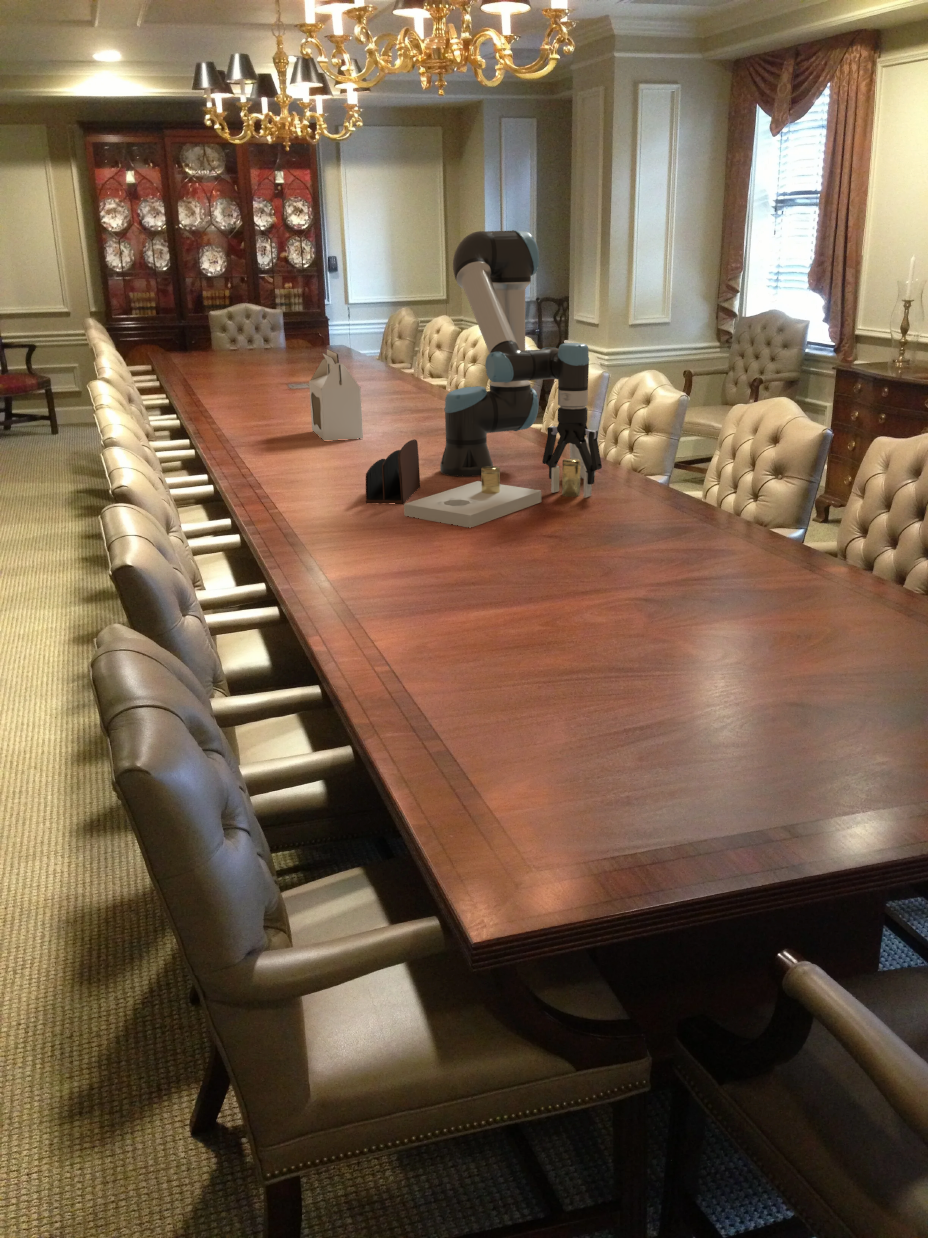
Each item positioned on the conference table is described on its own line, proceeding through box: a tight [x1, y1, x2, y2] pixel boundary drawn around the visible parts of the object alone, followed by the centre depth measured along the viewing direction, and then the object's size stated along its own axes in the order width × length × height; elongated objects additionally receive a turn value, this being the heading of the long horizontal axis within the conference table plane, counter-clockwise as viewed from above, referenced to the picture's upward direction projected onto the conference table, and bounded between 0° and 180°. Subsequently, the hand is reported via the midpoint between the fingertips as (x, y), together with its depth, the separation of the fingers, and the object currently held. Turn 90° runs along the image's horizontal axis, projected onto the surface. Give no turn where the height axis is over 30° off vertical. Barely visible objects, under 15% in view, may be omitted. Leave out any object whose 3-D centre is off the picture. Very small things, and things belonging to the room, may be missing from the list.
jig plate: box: [403, 480, 542, 529], centre depth 262 cm, size 20×30×3 cm, turn 143°
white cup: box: [569, 437, 599, 479], centre depth 294 cm, size 8×8×10 cm
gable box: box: [308, 349, 364, 441], centre depth 358 cm, size 22×13×28 cm, turn 18°
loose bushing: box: [561, 458, 581, 498], centre depth 274 cm, size 5×5×9 cm
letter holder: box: [365, 438, 421, 505], centre depth 276 cm, size 10×20×14 cm, turn 170°
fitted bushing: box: [480, 465, 501, 494], centre depth 267 cm, size 5×5×9 cm
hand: (571, 493), depth 275 cm, fingers open, 9 cm apart
